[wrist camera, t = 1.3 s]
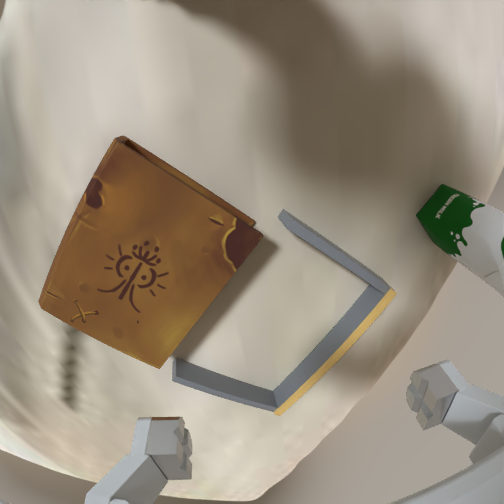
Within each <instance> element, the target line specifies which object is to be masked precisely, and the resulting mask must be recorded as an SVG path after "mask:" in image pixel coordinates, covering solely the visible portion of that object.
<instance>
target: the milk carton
mask: <svg viewBox="0 0 504 504" xmlns="http://www.w3.org/2000/svg"><path fill="white" fill-rule="evenodd" d="M416 216H417V217H418V219H419V220H420V222H421V223H422V225H423V227H424V228H425V230H426V231H427V233H428V234H429V236H430V237H431V239H432V241H433V242H434V243H435V244H436V245H437V246H438V247H440V248H441V249H442V250H443V251H444V252H446V253H447V254H448V255H450V256H451V257H452V258H454V259H455V260H457V261H458V262H459V263H461V264H462V265H464V266H465V267H466V268H468V269H469V270H470V271H472V272H473V273H474V274H476V275H477V276H478V277H480V278H481V279H483V280H484V281H485V282H486V283H487V284H489V285H490V286H492V287H493V288H494V289H495V290H497V291H498V292H499V293H500V294H501V295H502V296H503V297H504V212H502V211H500V210H498V209H496V208H494V207H492V206H490V205H488V204H486V203H484V202H481V201H479V200H477V199H475V198H473V197H471V196H468V195H466V194H464V193H462V192H460V191H457V190H455V189H453V188H451V187H448V186H446V185H444V184H442V185H441V186H440V188H439V189H438V190H437V191H436V192H435V194H434V195H433V196H432V197H431V198H430V200H429V201H428V202H427V203H426V204H425V206H424V207H423V208H422V209H421V210H420V211H419V213H418V214H417V215H416Z"/></svg>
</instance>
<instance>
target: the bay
mask: <svg viewBox="0 0 504 504" xmlns="http://www.w3.org/2000/svg"><path fill="white" fill-rule="evenodd" d="M278 218H279V219H280V221H281V222H282V223H283V225H284V226H285V227H286V228H287V229H288V230H290V231H291V232H293V233H294V234H296V235H297V236H299V237H300V238H302V239H303V240H305V241H307V242H308V243H310V244H311V245H313V246H314V247H316V248H317V249H319V250H320V251H322V252H323V253H325V254H326V255H328V256H329V257H331V258H332V259H334V260H335V261H337V262H338V263H340V264H341V265H343V266H344V267H346V268H347V269H349V270H350V271H352V272H353V273H355V274H356V275H358V276H359V277H360V278H362V279H363V280H365V281H366V282H368V283H369V284H370V285H369V286H368V287H367V289H366V290H365V291H364V292H363V294H362V295H361V296H360V297H359V298H358V300H357V301H356V302H355V303H354V304H353V306H352V307H351V308H350V309H349V310H348V311H347V313H346V314H345V315H344V316H343V317H342V318H341V320H340V321H339V322H338V323H337V324H336V325H335V326H334V328H333V329H332V330H331V331H330V332H329V333H328V334H327V335H326V337H325V338H324V339H323V340H322V341H321V342H320V343H319V344H318V345H317V346H316V347H315V349H314V350H313V351H312V352H311V353H310V354H309V355H308V356H307V357H306V358H305V359H304V360H303V361H302V362H301V363H300V364H299V366H298V367H297V368H296V369H295V370H294V371H293V372H292V373H291V374H290V375H289V376H288V377H287V378H286V379H285V380H284V381H283V382H282V383H281V384H280V385H279V386H278V387H277V388H276V389H275V390H274V391H270V390H267V389H263V388H260V387H257V386H254V385H251V384H248V383H245V382H241V381H238V380H235V379H233V378H230V377H227V376H224V375H221V374H218V373H215V372H213V371H210V370H207V369H204V368H202V367H199V366H196V365H194V364H191V363H188V362H186V361H183V360H181V359H178V358H175V360H174V361H173V371H172V381H174V382H177V383H180V384H182V385H185V386H188V387H191V388H194V389H197V390H200V391H203V392H206V393H209V394H212V395H215V396H218V397H222V398H225V399H228V400H232V401H235V402H238V403H242V404H246V405H249V406H253V407H257V408H260V409H264V410H268V411H272V412H274V414H275V415H279V416H280V415H281V414H283V413H284V412H285V411H286V410H287V409H288V408H289V407H290V406H291V405H293V404H294V403H295V402H296V401H297V400H298V399H299V398H300V397H301V396H302V395H303V394H304V393H305V392H306V391H308V390H309V389H310V388H311V387H312V386H313V385H314V384H315V383H316V382H317V381H318V380H319V379H320V378H321V377H322V376H323V375H324V374H325V373H326V372H327V371H328V370H329V369H330V368H331V367H332V366H333V365H334V364H335V363H336V362H337V361H338V360H339V359H340V358H341V357H342V356H343V354H344V353H345V352H346V351H347V350H348V349H349V348H350V347H351V346H352V345H353V344H354V343H355V342H356V341H357V339H358V338H359V337H360V336H361V335H362V334H363V333H364V332H365V331H366V329H367V328H368V327H369V326H370V325H371V324H372V323H373V322H374V320H375V319H376V318H377V317H378V316H379V315H380V313H381V312H382V311H383V310H384V309H385V308H386V306H387V305H388V304H389V303H390V301H391V300H392V299H393V298H394V297H395V295H396V294H397V293H396V292H395V291H394V290H393V289H392V288H391V287H390V286H389V285H388V284H387V283H386V282H385V281H384V280H383V279H382V278H381V277H379V276H378V275H377V274H375V273H374V272H373V271H371V270H370V269H368V268H367V267H366V266H364V265H363V264H362V263H360V262H359V261H357V260H356V259H355V258H353V257H352V256H350V255H349V254H348V253H346V252H345V251H343V250H342V249H341V248H339V247H338V246H336V245H335V244H333V243H332V242H331V241H329V240H328V239H326V238H325V237H323V236H322V235H321V234H319V233H318V232H316V231H315V230H313V229H312V228H310V227H309V226H307V225H306V224H304V223H303V222H302V221H300V220H299V219H297V218H296V217H294V216H293V215H291V214H290V213H288V212H287V211H285V210H284V209H283V210H282V212H281V213H280V215H279V216H278Z"/></svg>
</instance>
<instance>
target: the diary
mask: <svg viewBox="0 0 504 504" xmlns="http://www.w3.org/2000/svg"><path fill="white" fill-rule="evenodd" d="M254 223H255V221H254V220H253V219H251V218H250V217H248V216H247V215H245V214H244V213H243V212H241V211H240V210H238V209H237V208H235V207H234V206H232V205H231V204H229V203H228V202H226V201H225V200H223V199H221V198H220V197H218V196H217V195H215V194H214V193H212V192H211V191H209V190H208V189H206V188H205V187H203V186H202V185H200V184H199V183H197V182H196V181H194V180H193V179H191V178H190V177H188V176H186V175H185V174H183V173H182V172H180V171H179V170H177V169H176V168H174V167H173V166H171V165H169V164H168V163H166V162H165V161H163V160H162V159H160V158H159V157H157V156H155V155H154V154H152V153H151V152H149V151H148V150H146V149H144V148H143V147H141V146H140V145H138V144H137V143H135V142H133V141H132V140H130V139H129V138H127V137H125V136H120V137H117V138H115V139H114V140H113V142H112V144H111V145H110V147H109V149H108V150H107V152H106V154H105V155H104V157H103V159H102V161H101V162H100V164H99V166H98V168H97V170H96V171H95V173H94V175H93V177H92V179H91V181H90V183H89V184H88V186H87V188H86V190H85V192H84V194H83V196H82V198H81V200H80V202H79V204H78V206H77V208H76V210H75V212H74V214H73V217H72V219H71V221H70V223H69V225H68V227H67V230H66V232H65V234H64V236H63V239H62V241H61V243H60V246H59V248H58V251H57V253H56V255H55V258H54V260H53V263H52V265H51V268H50V271H49V273H48V276H47V279H46V281H45V284H44V287H43V290H42V293H41V295H40V298H39V304H40V307H41V309H43V310H45V311H46V312H48V313H50V314H51V315H53V316H55V317H56V318H58V319H60V320H62V321H63V322H65V323H67V324H69V325H71V326H72V327H74V328H76V329H78V330H80V331H81V332H83V333H85V334H87V335H89V336H91V337H93V338H95V339H97V340H99V341H101V342H102V343H104V344H106V345H108V346H110V347H112V348H115V349H117V350H119V351H121V352H123V353H125V354H127V355H129V356H131V357H133V358H136V359H138V360H140V361H142V362H144V363H147V364H149V365H151V366H154V367H156V368H158V369H160V368H161V367H162V365H163V364H164V363H165V361H166V360H167V359H168V358H169V356H170V355H171V354H172V352H173V351H174V350H175V349H176V347H177V346H178V345H179V343H180V342H181V341H182V340H183V338H184V337H185V336H186V334H187V333H188V332H189V331H190V329H191V328H192V327H193V325H194V324H195V323H196V322H197V320H198V319H199V318H200V317H201V315H202V314H203V313H204V311H205V310H206V309H207V308H208V306H209V305H210V304H211V302H212V301H213V300H214V299H215V297H216V296H217V295H218V293H219V292H220V291H221V290H222V288H223V287H224V286H225V284H226V283H227V282H228V281H229V279H230V278H231V277H232V276H233V274H234V273H235V272H236V270H237V269H238V268H239V267H240V265H241V264H242V263H243V261H244V260H245V259H246V258H247V256H248V255H249V254H250V252H251V251H252V250H253V249H254V247H255V246H256V245H257V244H258V242H259V241H260V240H261V238H262V237H263V235H262V233H261V232H259V231H258V230H256V229H255V228H253V227H252V225H253V224H254Z"/></svg>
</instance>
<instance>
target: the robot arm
mask: <svg viewBox="0 0 504 504" xmlns="http://www.w3.org/2000/svg"><path fill="white" fill-rule="evenodd" d="M410 379H411V381H412V383H411V384H410V385H409V387H408V389H407V392H406V397H407V402H408V405H409V407H410V408H411V410H413V411H415V412H417V416H416V419H417V420H418V422H419V424H420V426H421V427H422V429H423V430H426V429H428V428H431V427H434V426H436V425H438V424H441V423H442V425H444V426H445V427H447V428H449V429H450V430H452V431H454V432H455V433H457V434H459V435H461V436H462V437H464V438H465V439H467V440H469V441H470V442H472V443H474V444H475V445H476V446H475V448H474V449H473V450H472V452H471V453H470V456H469V458H470V459H471V461H472V463H473V465H471V466H469V467H467V468H466V469H464V470H462V471H460V472H458V473H456V474H455V475H453V476H451V477H449V478H447V479H445V480H443V481H441V482H439V483H436V484H435V485H432V486H430V487H428V488H426V489H424V490H421V491H419V492H417V493H414V494H412V495H409V496H407V497H405V498H402V499H399V500H397V501H394V502H392V503H389V504H504V397H503V396H500V395H498V394H495V393H493V392H490V391H487V390H485V389H482V388H480V387H477V386H475V385H471V386H470V385H469V384H468V383H467V381H466V380H465V379H464V378H463V377H462V375H461V374H460V373H459V372H458V370H457V369H456V368H455V367H454V365H453V364H452V363H451V362H450V361H449V360H444V361H442V362H439V363H436V364H433V365H430V366H428V367H425V368H422V369H419V370H417V371H414V372H413V373H412V375H411V378H410ZM184 426H185V422H184V420H183V418H182V417H139V418H138V420H137V422H136V427H135V432H134V437H133V442H132V447H131V453H130V455H125V456H124V457H123V458H122V459H121V460H120V461H119V462H118V463H117V464H116V465H115V466H114V467H113V468H112V469H111V470H110V471H109V472H108V473H107V474H106V475H105V476H104V477H103V478H102V479H101V480H100V481H99V482H98V483H97V484H96V485H95V486H94V487H93V488H92V489H91V490H90V491H89V492H88V493H87V494H86V499H85V503H84V504H152V503H153V502H154V501H155V499H156V498H157V496H158V495H159V494H160V492H161V491H162V489H163V488H164V487H165V485H166V484H167V482H168V480H186V479H191V477H192V463H191V461H190V460H189V457H190V456H191V454H192V440H191V436H190V433H189V431H188V429H186V428H184ZM0 504H12V503H10V502H7V501H4V500H0Z"/></svg>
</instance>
